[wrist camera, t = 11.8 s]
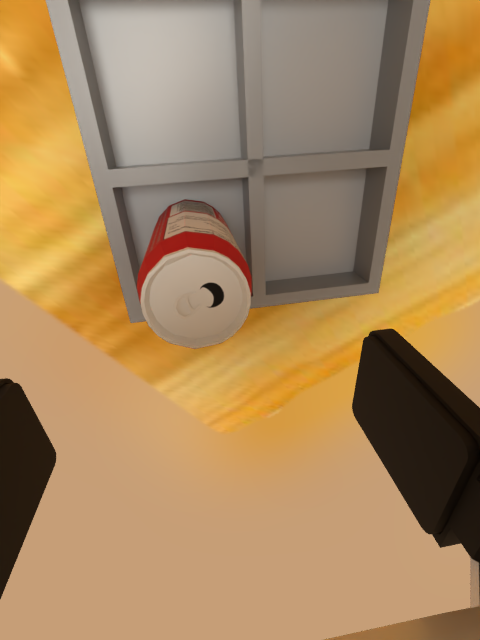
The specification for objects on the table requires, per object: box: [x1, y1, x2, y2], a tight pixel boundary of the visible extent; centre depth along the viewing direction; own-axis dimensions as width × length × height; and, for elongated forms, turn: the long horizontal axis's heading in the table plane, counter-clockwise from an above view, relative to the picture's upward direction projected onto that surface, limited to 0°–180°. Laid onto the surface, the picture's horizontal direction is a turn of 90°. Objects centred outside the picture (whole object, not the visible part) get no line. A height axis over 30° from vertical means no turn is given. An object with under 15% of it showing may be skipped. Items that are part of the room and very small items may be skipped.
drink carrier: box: [46, 0, 430, 323], centre depth 22 cm, size 20×20×4 cm
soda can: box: [137, 199, 252, 349], centre depth 19 cm, size 6×6×12 cm
